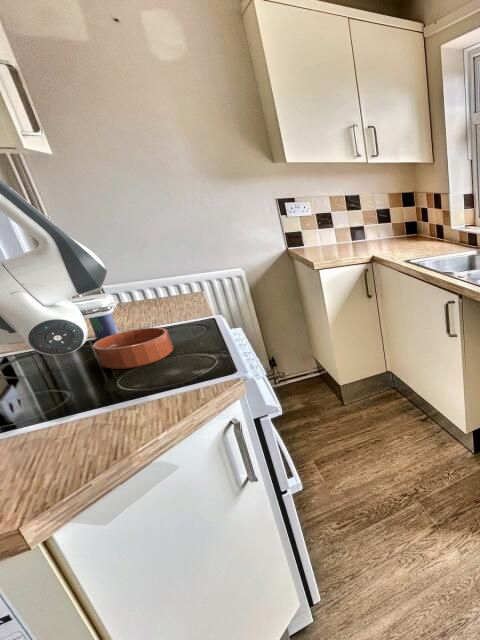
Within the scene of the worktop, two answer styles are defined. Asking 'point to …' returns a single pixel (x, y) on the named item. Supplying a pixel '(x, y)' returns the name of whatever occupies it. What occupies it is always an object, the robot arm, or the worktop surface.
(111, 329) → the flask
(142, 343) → the bowl
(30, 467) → the worktop surface
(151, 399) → the worktop surface
